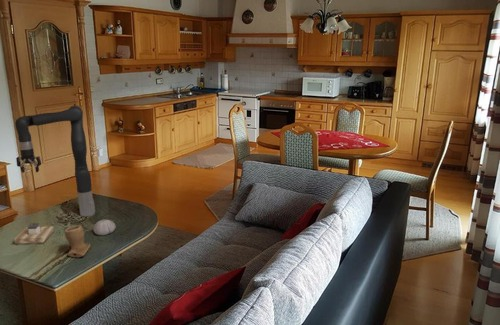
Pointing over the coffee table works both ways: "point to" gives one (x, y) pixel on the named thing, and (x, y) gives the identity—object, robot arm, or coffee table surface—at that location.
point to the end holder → (34, 236)
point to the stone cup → (76, 241)
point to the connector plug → (34, 229)
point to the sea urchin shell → (104, 227)
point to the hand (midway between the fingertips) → (30, 172)
